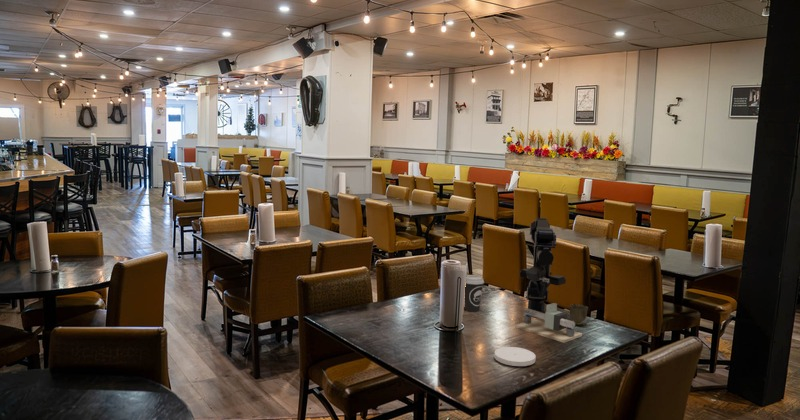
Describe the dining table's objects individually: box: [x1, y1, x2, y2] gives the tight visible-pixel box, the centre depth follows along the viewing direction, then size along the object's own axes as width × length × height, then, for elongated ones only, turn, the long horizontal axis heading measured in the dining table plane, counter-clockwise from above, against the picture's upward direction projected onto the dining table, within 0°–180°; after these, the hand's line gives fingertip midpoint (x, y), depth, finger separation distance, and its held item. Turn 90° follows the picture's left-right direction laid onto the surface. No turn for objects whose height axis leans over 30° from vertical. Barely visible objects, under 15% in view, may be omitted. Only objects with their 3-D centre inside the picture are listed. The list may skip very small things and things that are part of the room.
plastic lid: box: [493, 346, 537, 367], centre depth 199 cm, size 14×14×2 cm
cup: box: [569, 303, 589, 327], centre depth 240 cm, size 8×7×8 cm
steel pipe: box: [523, 307, 576, 337], centre depth 230 cm, size 22×3×6 cm, turn 42°
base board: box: [514, 318, 583, 344], centre depth 231 cm, size 23×13×1 cm, turn 42°
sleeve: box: [544, 302, 563, 330], centre depth 228 cm, size 4×6×9 cm, turn 132°
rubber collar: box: [553, 311, 568, 331], centre depth 226 cm, size 2×6×6 cm, turn 132°
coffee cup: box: [464, 274, 485, 313], centre depth 257 cm, size 10×10×15 cm
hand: (540, 297), depth 235 cm, fingers closed
